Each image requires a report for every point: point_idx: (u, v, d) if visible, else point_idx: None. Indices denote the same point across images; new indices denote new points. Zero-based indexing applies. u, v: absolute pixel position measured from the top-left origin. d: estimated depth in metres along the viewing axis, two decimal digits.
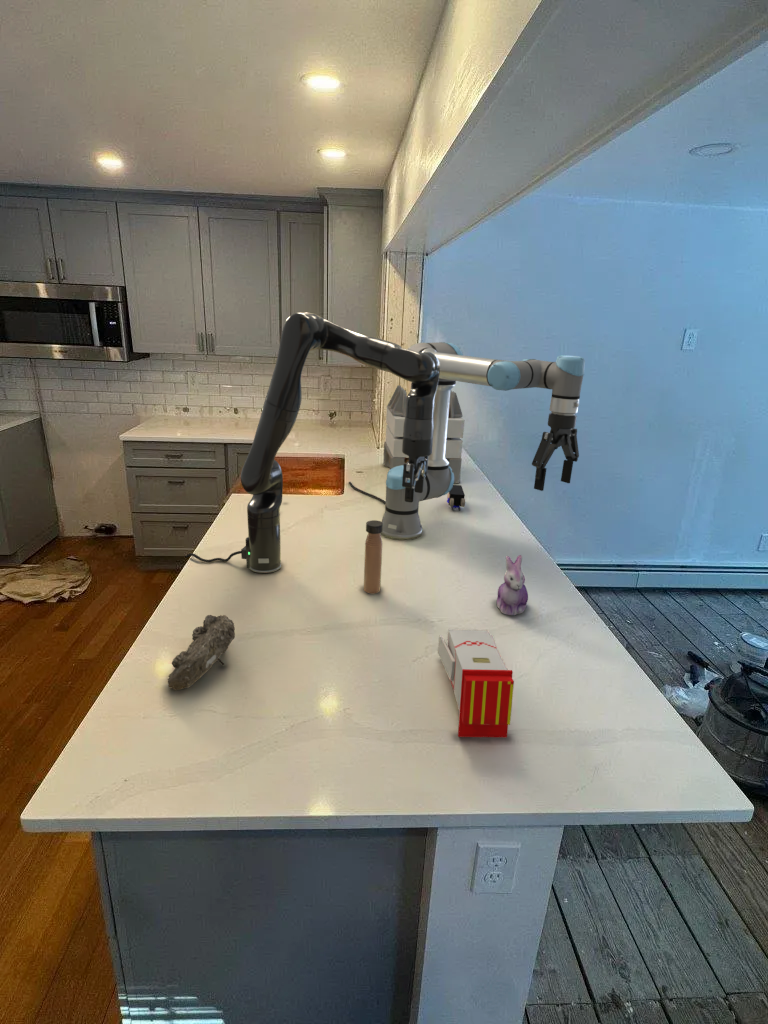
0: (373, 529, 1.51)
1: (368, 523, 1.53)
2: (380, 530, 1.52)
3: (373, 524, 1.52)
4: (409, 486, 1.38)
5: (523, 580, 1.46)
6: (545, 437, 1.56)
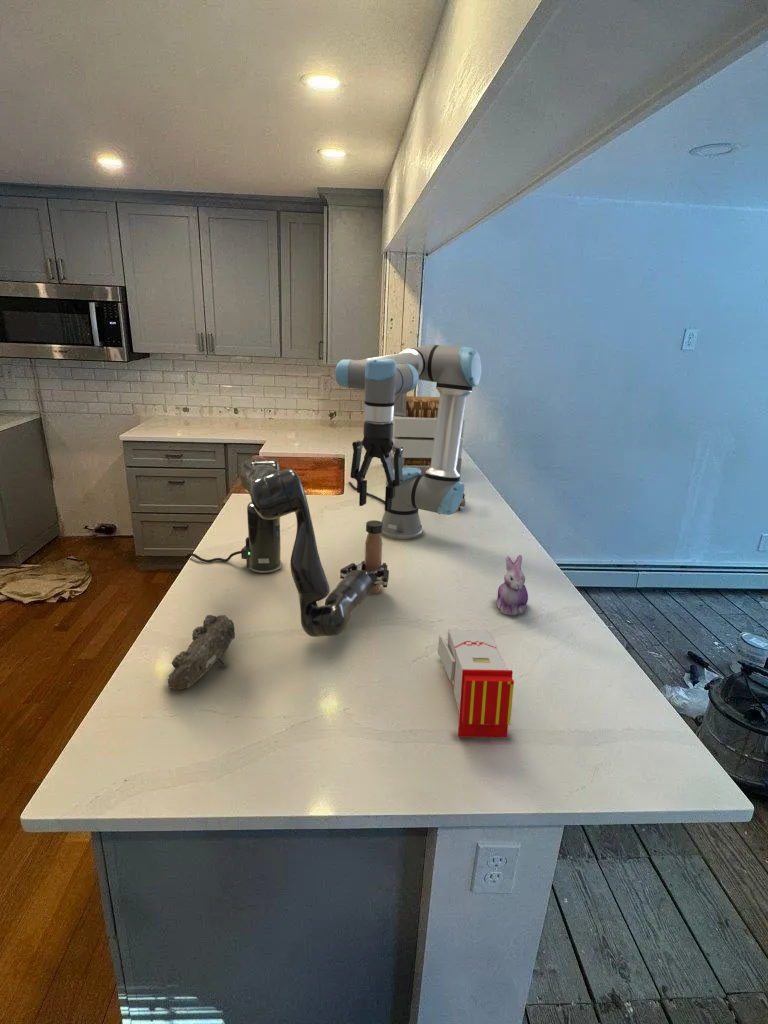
0: (373, 529, 1.51)
1: (368, 523, 1.53)
2: (380, 530, 1.52)
3: (373, 524, 1.52)
4: None
5: (523, 580, 1.46)
6: (400, 453, 1.43)
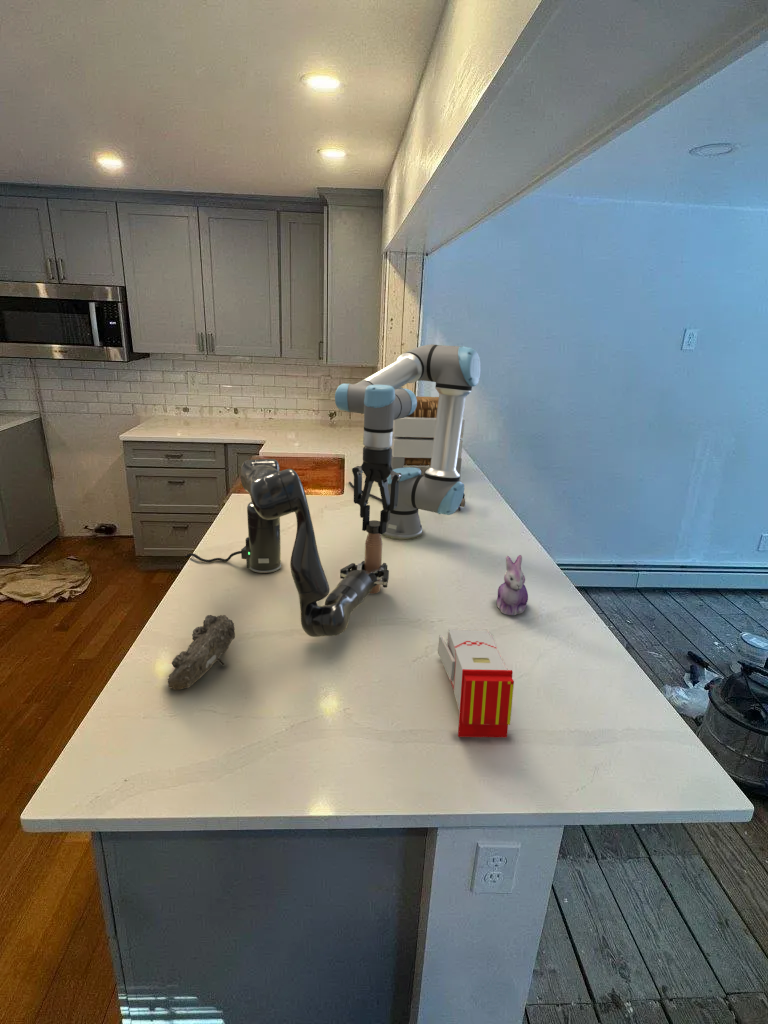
0: (373, 529, 1.51)
1: (368, 523, 1.53)
2: None
3: (373, 524, 1.52)
4: None
5: (523, 580, 1.46)
6: (398, 480, 1.46)
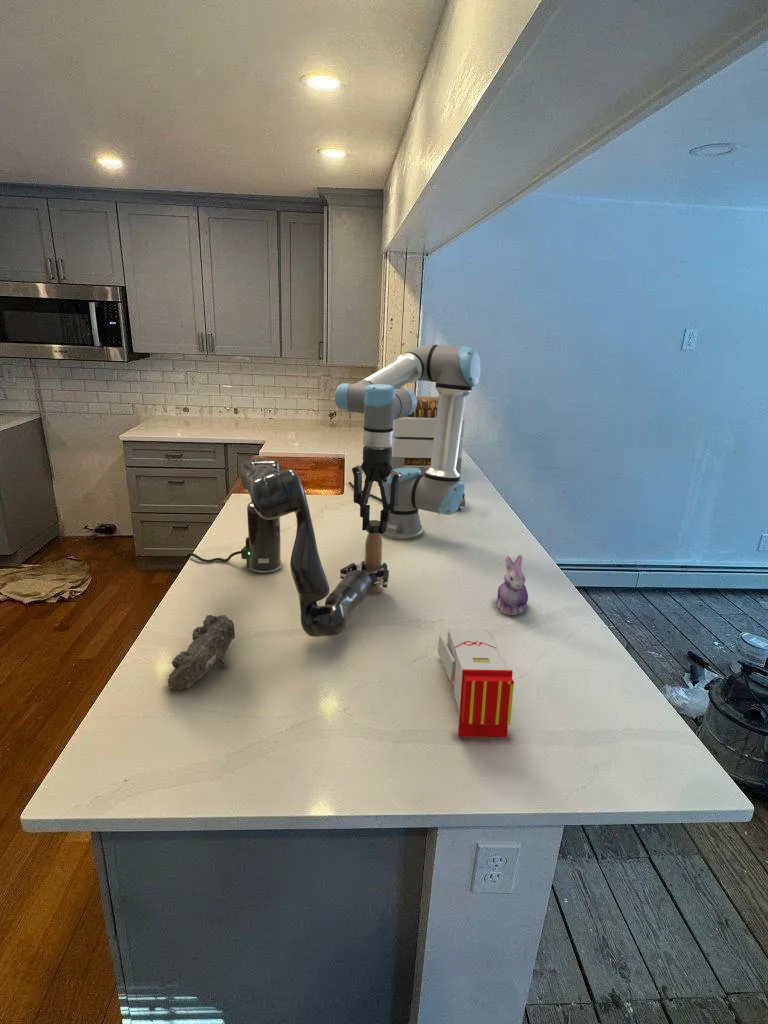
0: None
1: (377, 525, 1.51)
2: None
3: (378, 523, 1.53)
4: None
5: (523, 580, 1.46)
6: (398, 479, 1.46)
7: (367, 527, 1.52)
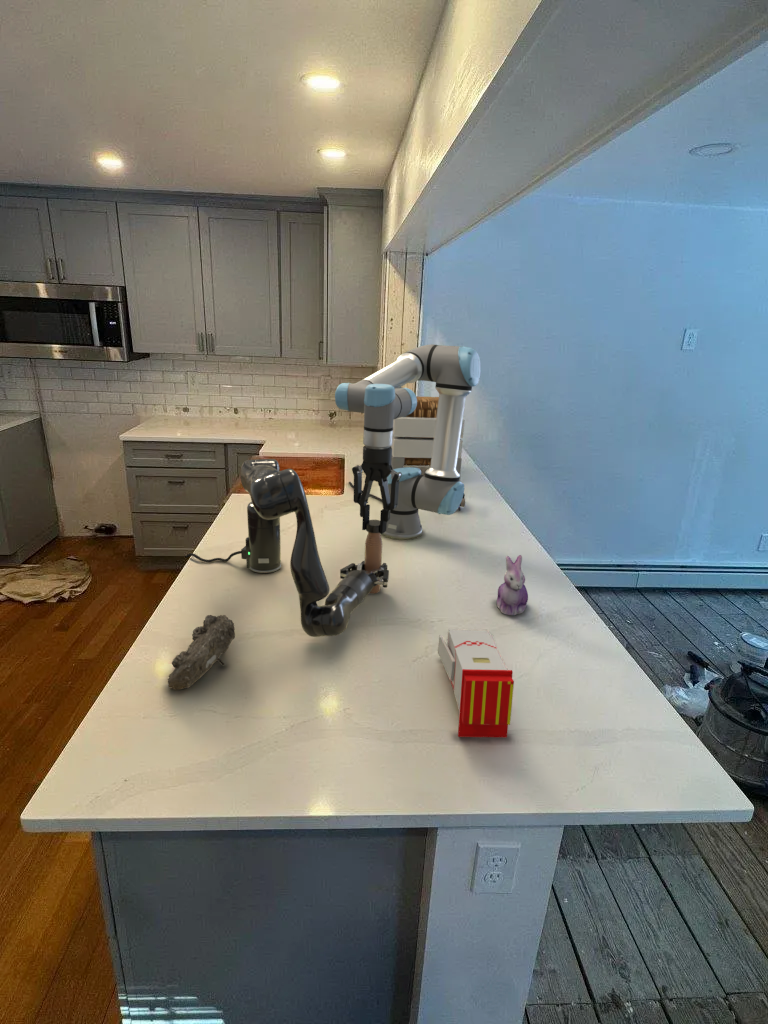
0: None
1: (378, 521, 1.54)
2: None
3: (373, 521, 1.54)
4: None
5: (523, 580, 1.46)
6: (398, 479, 1.46)
7: None
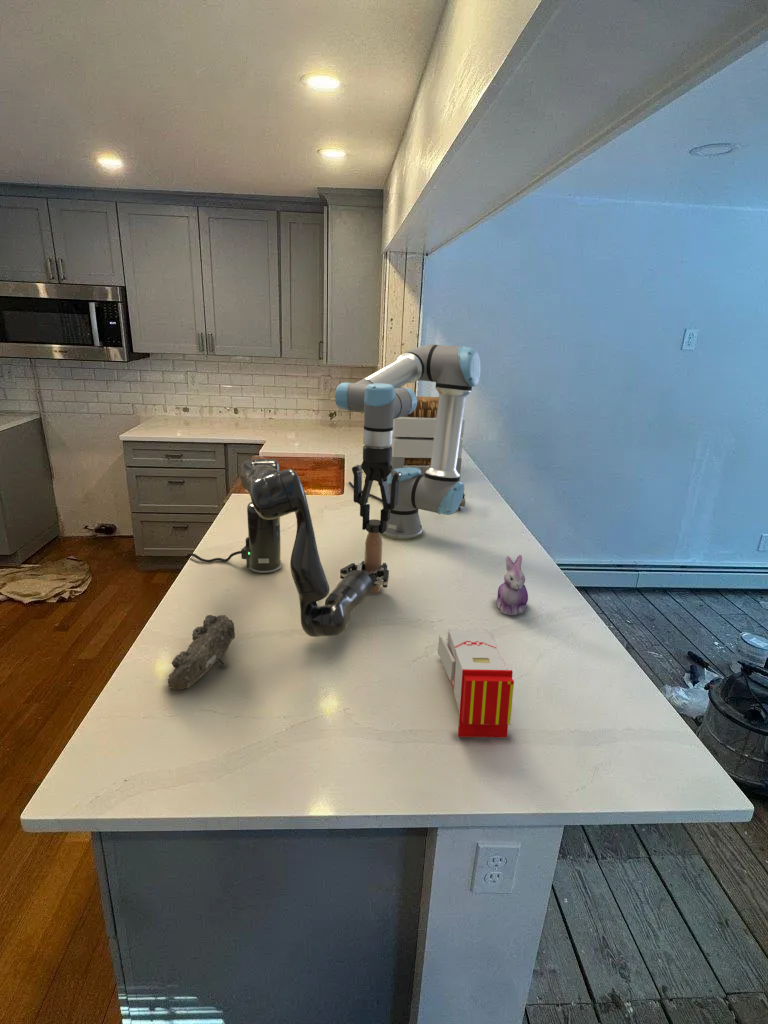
0: (369, 527, 1.51)
1: (369, 521, 1.53)
2: (376, 530, 1.51)
3: (371, 522, 1.52)
4: None
5: (523, 580, 1.46)
6: (398, 478, 1.46)
7: None
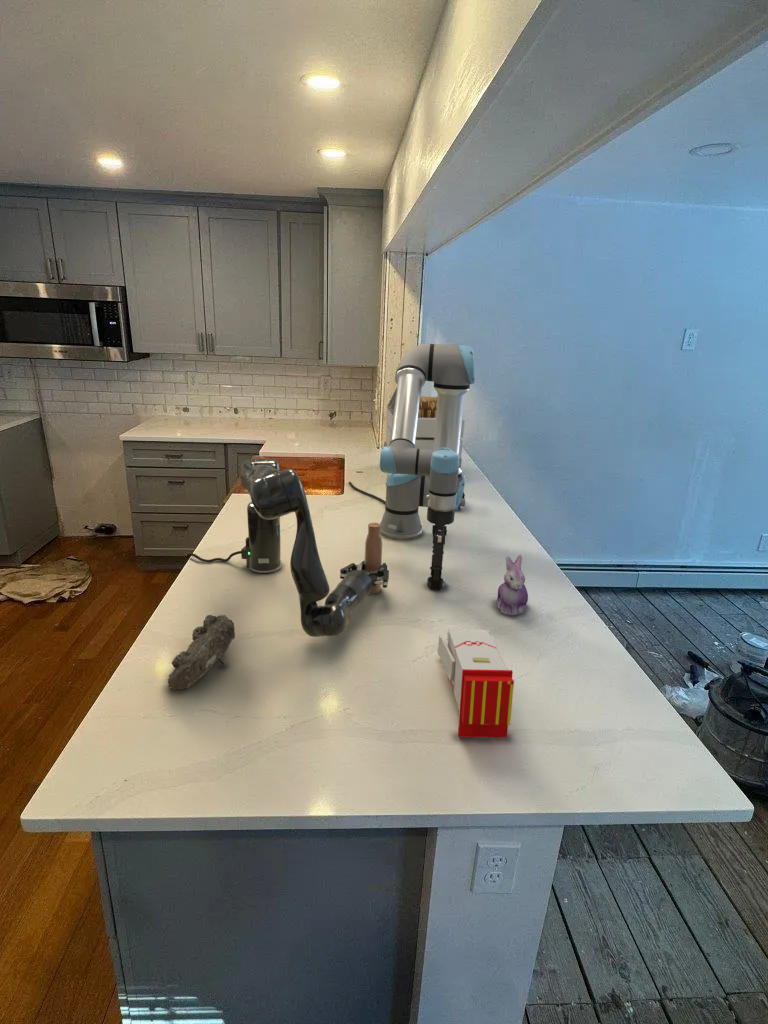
0: (442, 584, 1.62)
1: None
2: None
3: None
4: None
5: (523, 580, 1.46)
6: None
7: (427, 582, 1.63)
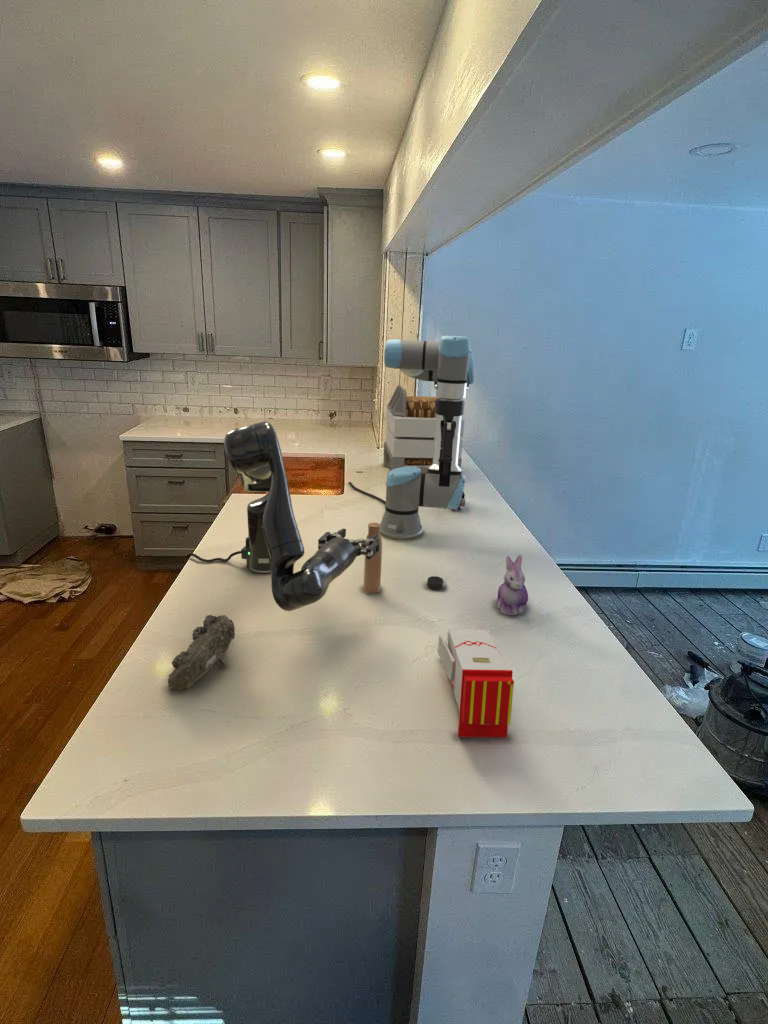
0: (442, 584, 1.62)
1: (435, 582, 1.61)
2: None
3: (438, 580, 1.62)
4: None
5: (523, 580, 1.46)
6: None
7: (427, 582, 1.63)
